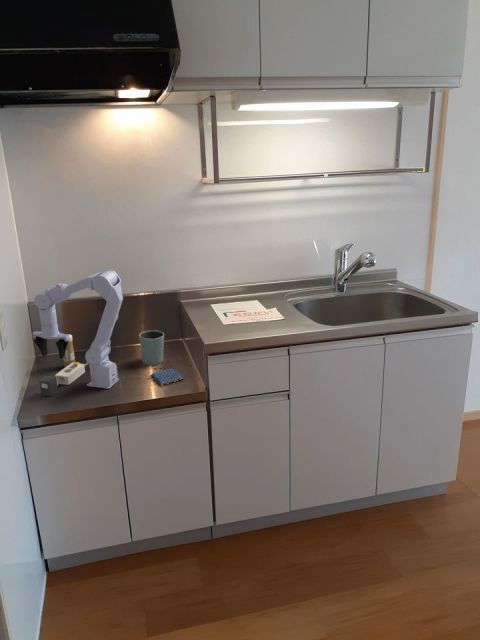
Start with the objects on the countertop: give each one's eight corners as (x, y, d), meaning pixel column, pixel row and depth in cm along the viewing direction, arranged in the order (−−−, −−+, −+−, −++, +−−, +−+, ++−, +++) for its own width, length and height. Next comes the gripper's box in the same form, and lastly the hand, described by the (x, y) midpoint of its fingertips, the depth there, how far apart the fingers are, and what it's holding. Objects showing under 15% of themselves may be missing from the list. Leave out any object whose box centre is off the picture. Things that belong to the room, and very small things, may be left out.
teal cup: (138, 358, 218) (136, 332, 214) (161, 354, 222) (159, 328, 218) (144, 367, 209) (142, 340, 205) (168, 363, 213) (167, 336, 209)
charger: (61, 388, 192) (59, 374, 190) (50, 396, 186) (48, 382, 184) (51, 387, 193) (49, 373, 191) (41, 395, 187) (38, 380, 185)
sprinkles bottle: (77, 367, 210) (73, 336, 206) (66, 369, 208) (61, 339, 203) (73, 363, 214) (70, 333, 209) (62, 365, 212) (58, 335, 207)
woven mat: (185, 381, 199) (185, 376, 198) (160, 388, 193) (160, 383, 193) (174, 371, 207) (173, 367, 206) (149, 378, 202) (149, 373, 201)
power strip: (94, 364, 212) (93, 355, 211) (68, 384, 195) (67, 375, 194) (82, 363, 214) (81, 354, 212) (55, 383, 197) (54, 373, 195)
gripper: (72, 321, 193) (76, 354, 198) (38, 317, 197) (43, 350, 202) (61, 327, 187) (66, 361, 192) (27, 323, 191) (32, 357, 195)
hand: (53, 356), depth 196 cm, fingers open, 7 cm apart
